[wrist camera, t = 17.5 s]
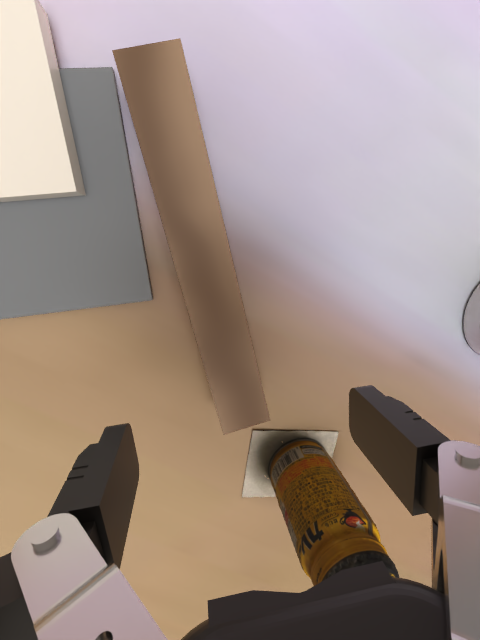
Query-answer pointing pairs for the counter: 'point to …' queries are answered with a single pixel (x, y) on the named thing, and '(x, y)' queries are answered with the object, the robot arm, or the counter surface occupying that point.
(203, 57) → the counter surface
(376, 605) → the robot arm
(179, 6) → the counter surface
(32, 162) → the tile
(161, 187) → the push bar
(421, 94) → the counter surface
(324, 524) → the condiment
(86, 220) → the mat
